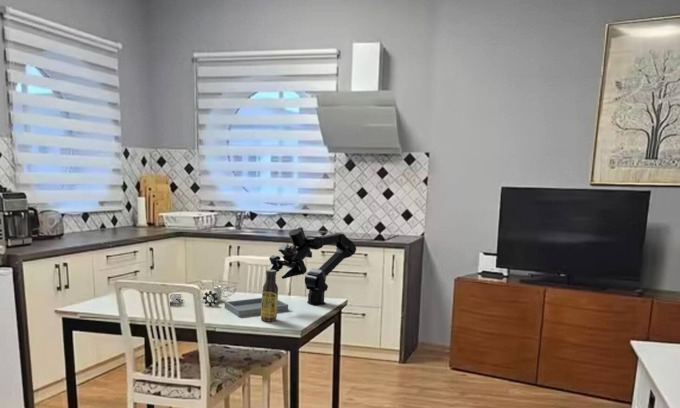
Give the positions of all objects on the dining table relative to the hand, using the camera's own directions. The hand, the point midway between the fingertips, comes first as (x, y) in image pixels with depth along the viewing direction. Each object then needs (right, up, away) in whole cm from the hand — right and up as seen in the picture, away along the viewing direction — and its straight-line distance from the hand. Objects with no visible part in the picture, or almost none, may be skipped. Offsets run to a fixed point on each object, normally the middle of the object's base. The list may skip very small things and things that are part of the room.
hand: (274, 276), depth 207 cm
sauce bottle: (-1, -16, -8) cm, 18 cm away
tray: (-9, -15, +8) cm, 19 cm away
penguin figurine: (-47, -14, +18) cm, 52 cm away
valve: (-29, -15, +18) cm, 37 cm away
